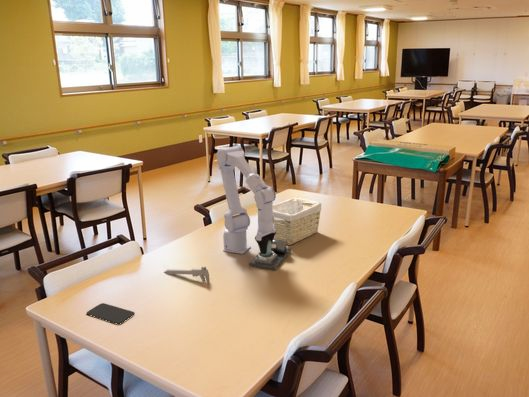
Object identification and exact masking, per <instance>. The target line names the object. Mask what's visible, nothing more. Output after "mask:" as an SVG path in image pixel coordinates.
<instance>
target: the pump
mask: <svg viewBox="0 0 529 397" xmlns="http://www.w3.org/2000/svg"><path fill="white" fill-rule="evenodd" d="M271 248H276V244H271V240H269V241H268V245H267V252H266V254H261V252H260V255H261V256H264V257H268V256H271Z"/></svg>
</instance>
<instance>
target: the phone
mask: <svg viewBox="0 0 529 397" xmlns="http://www.w3.org/2000/svg"><path fill="white" fill-rule="evenodd" d="M87 314H89V315H92V316H95V317H98V318H101V319H100V320H102V319H104V320H103V321H105V320H107V321H106V322H108V321H110V322H109V323H111V322H114V323H117V324H120V323H122V322H124V321H125V320H127V319H128V318H130V317H131V316H132V315H134V314H135V312H134V311H132V310H129V309H124V308H121V307H119V306H115V305H112V304H108V303H104V302H102V303H100V304H98V305H96V306H94V307H92V308H90V309H89V310H88V311H86V315H87ZM89 315H88V316H89ZM92 316H91V317H92ZM134 316H135V315H134ZM95 317H94V318H95ZM132 317H133V316H132ZM132 317H131V318H132ZM98 318H97V319H98ZM131 318H130V319H131ZM128 320H129V319H128ZM128 320H127V321H128ZM125 322H126V321H125ZM125 322H124V323H125ZM114 323H113V324H114ZM117 324H116V325H117ZM122 324H123V323H122ZM120 325H121V324H120Z"/></svg>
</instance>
